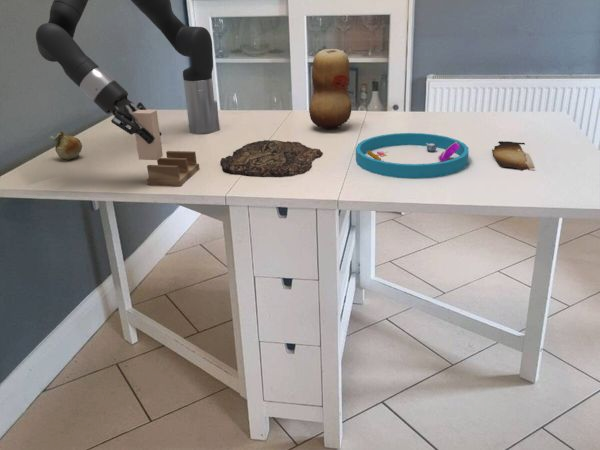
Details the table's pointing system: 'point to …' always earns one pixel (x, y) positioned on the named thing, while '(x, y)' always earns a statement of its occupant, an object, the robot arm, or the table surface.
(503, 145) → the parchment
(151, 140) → the robot arm
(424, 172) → the teal plastic ring
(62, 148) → the onion
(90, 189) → the table surface
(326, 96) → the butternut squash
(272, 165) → the stone relief
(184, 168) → the rack
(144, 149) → the clay block
